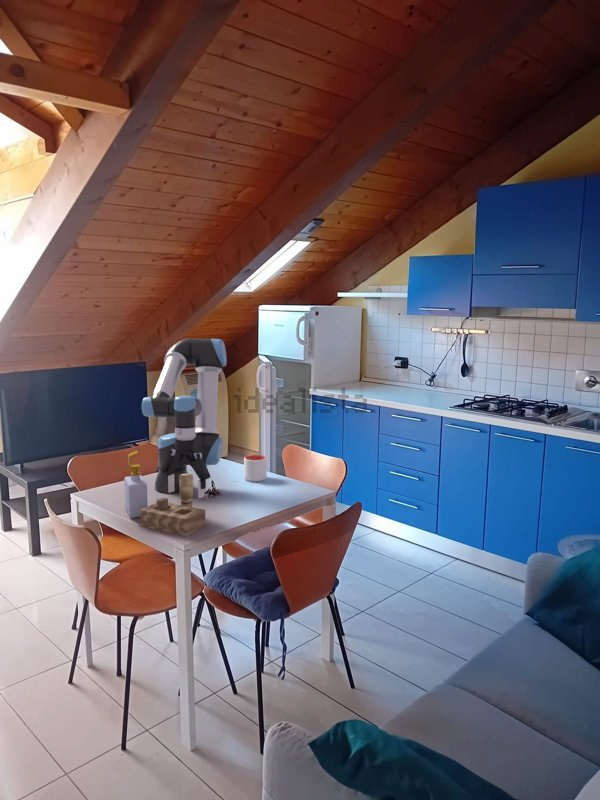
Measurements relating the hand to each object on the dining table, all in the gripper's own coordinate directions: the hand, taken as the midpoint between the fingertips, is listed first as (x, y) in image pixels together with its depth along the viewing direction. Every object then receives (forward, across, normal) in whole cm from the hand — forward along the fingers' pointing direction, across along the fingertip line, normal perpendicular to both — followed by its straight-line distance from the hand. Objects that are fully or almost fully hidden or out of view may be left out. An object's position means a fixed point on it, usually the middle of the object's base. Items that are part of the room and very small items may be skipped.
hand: (186, 494), depth 230 cm
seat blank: (+8, +3, -12) cm, 14 cm away
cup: (+7, -1, +52) cm, 53 cm away
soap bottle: (+8, -18, -7) cm, 21 cm away
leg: (+8, 0, 0) cm, 8 cm away
